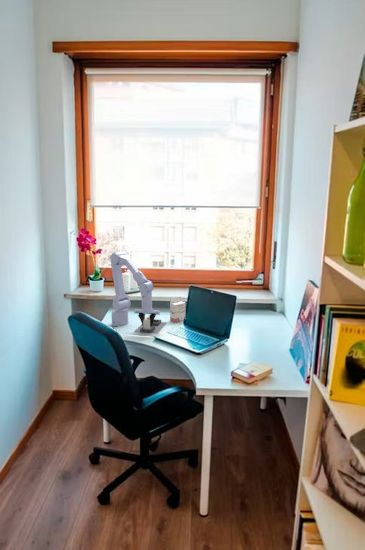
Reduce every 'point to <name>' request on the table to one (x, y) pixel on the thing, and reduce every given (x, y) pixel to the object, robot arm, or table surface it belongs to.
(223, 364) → the table surface
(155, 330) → the panel
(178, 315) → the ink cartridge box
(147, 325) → the plug
